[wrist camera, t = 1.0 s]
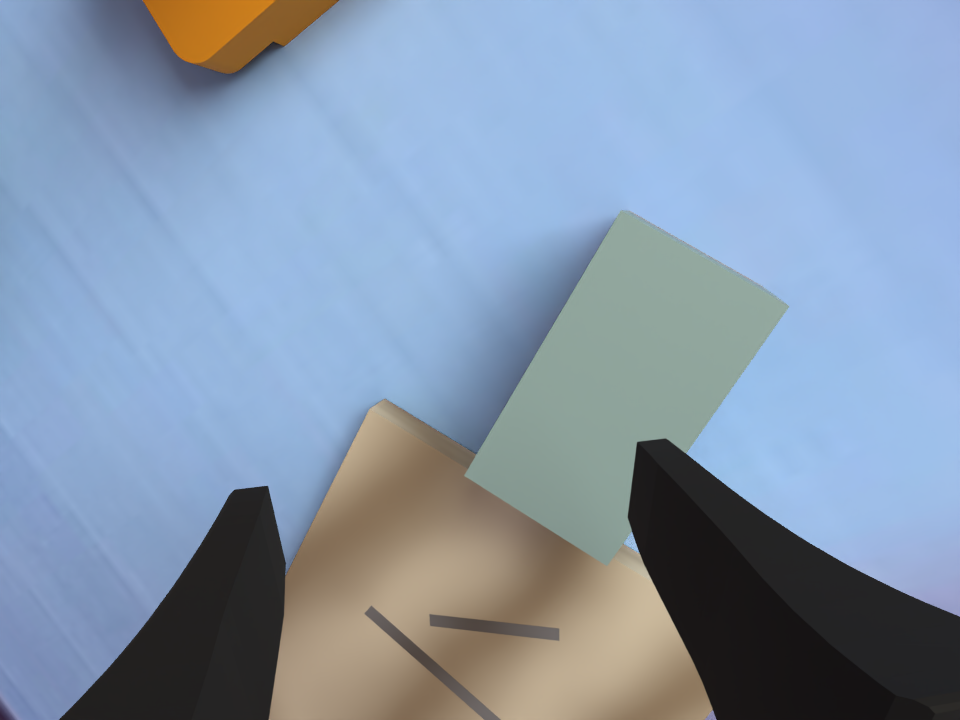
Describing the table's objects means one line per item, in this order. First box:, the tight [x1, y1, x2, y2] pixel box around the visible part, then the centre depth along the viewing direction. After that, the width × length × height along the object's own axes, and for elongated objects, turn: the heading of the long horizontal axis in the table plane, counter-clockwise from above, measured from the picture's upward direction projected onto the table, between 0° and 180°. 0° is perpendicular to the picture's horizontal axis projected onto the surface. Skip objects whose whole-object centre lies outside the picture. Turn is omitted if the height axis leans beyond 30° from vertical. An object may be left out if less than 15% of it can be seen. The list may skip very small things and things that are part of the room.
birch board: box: [269, 399, 713, 720], centre depth 28 cm, size 16×18×2 cm
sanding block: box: [464, 210, 789, 566], centre depth 22 cm, size 5×9×6 cm, turn 151°
